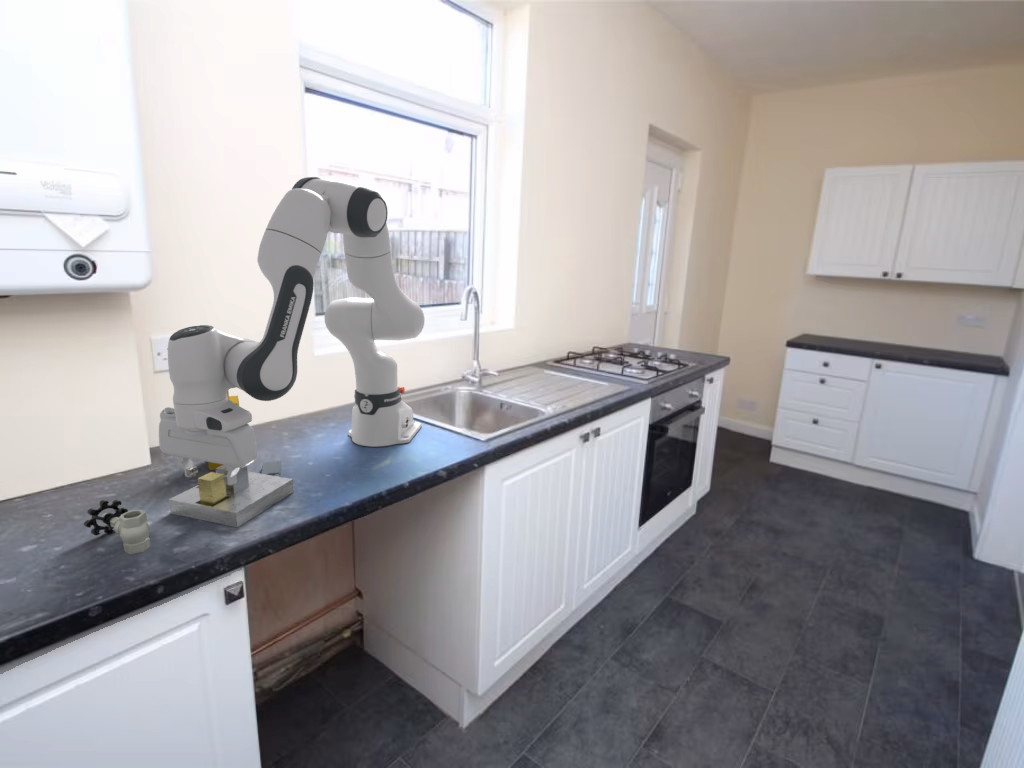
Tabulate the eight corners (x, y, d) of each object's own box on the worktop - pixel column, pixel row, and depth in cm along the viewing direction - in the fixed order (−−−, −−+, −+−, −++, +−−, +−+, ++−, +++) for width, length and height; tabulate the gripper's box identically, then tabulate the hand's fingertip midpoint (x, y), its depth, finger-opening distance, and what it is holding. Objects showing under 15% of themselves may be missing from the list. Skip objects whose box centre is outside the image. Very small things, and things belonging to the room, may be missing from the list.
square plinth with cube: (233, 480, 119) (229, 447, 117) (293, 491, 115) (291, 457, 113) (170, 513, 104) (165, 475, 102) (237, 527, 100) (233, 488, 98)
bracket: (281, 467, 128) (280, 460, 127) (279, 485, 118) (279, 477, 118) (263, 469, 126) (262, 462, 126) (260, 488, 117) (259, 479, 116)
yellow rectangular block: (202, 516, 103) (197, 478, 101) (215, 508, 106) (210, 471, 104) (215, 518, 103) (210, 480, 101) (228, 511, 106) (224, 474, 104)
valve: (164, 543, 94) (127, 525, 99) (159, 509, 92) (122, 493, 98) (123, 561, 88) (86, 541, 94) (117, 525, 87) (80, 507, 92)
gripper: (144, 410, 99) (155, 478, 103) (233, 424, 94) (240, 495, 98) (174, 401, 105) (183, 465, 109) (259, 414, 100) (265, 481, 103)
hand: (211, 479), depth 103 cm, fingers open, 8 cm apart
